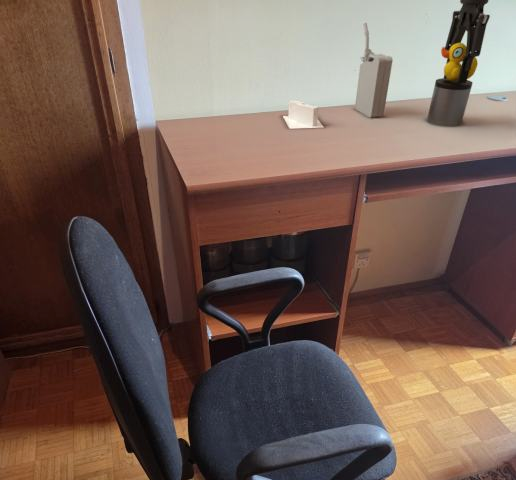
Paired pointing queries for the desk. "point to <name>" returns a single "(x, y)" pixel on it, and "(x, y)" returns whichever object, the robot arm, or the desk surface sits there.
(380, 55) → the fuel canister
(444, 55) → the duckling
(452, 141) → the desk surface
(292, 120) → the napkin holder
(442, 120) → the jar
